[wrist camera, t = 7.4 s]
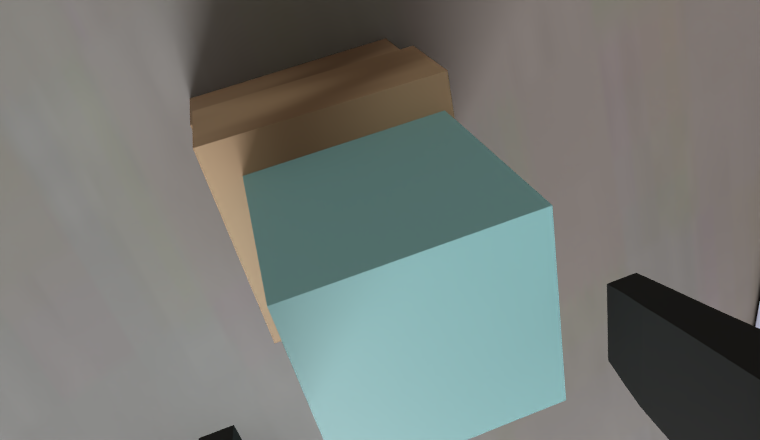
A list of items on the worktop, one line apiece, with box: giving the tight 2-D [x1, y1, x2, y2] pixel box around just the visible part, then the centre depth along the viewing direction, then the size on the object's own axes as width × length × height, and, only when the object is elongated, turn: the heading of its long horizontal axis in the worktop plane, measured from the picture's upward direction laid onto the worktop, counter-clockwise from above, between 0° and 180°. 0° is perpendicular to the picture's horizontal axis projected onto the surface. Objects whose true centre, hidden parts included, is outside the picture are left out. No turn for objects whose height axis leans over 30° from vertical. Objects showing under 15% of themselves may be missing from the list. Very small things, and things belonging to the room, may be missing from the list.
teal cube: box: [243, 110, 566, 440], centre depth 13 cm, size 5×5×5 cm
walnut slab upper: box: [192, 46, 455, 343], centre depth 16 cm, size 6×6×2 cm
